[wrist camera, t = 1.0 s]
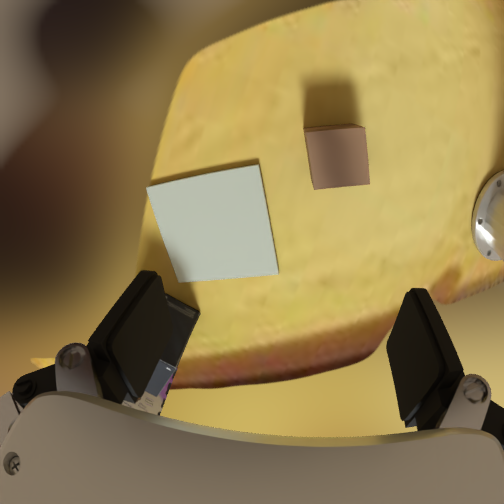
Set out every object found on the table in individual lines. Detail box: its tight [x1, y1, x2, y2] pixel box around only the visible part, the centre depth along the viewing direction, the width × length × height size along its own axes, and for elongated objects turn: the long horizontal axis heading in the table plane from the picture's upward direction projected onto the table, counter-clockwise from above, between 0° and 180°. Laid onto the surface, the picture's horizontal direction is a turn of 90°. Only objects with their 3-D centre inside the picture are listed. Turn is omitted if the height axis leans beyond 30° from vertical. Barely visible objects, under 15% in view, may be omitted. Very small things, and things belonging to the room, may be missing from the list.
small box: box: [145, 294, 200, 397], centre depth 37 cm, size 11×6×10 cm, turn 151°
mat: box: [146, 164, 279, 283], centre depth 32 cm, size 13×13×1 cm
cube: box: [303, 124, 370, 190], centre depth 24 cm, size 5×5×5 cm
